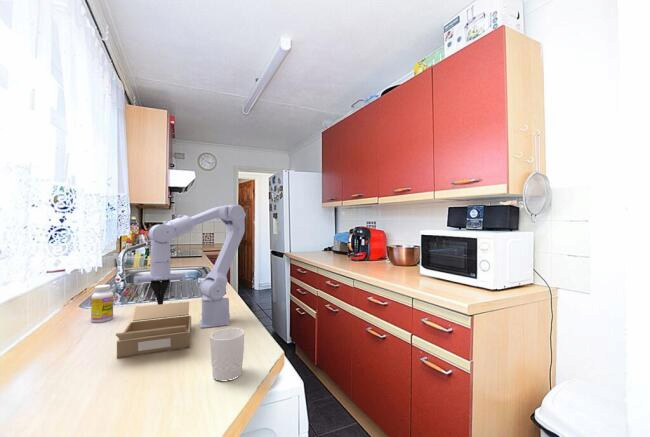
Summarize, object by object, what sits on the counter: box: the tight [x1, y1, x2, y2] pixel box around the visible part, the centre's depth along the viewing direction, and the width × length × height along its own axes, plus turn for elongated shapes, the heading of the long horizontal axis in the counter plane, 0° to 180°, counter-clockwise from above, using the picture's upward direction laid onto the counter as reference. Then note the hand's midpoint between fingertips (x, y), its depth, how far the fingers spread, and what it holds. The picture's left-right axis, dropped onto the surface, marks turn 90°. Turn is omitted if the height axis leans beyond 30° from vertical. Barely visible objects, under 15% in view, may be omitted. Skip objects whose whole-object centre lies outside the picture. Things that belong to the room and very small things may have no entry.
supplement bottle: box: [90, 284, 114, 324], centre depth 114 cm, size 7×7×13 cm
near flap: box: [115, 325, 187, 340], centre depth 84 cm, size 16×6×1 cm
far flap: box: [132, 301, 190, 322], centre depth 104 cm, size 16×6×1 cm
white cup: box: [209, 327, 245, 380], centre depth 74 cm, size 8×8×10 cm
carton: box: [116, 315, 192, 359], centre depth 94 cm, size 18×17×4 cm
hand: (160, 303), depth 98 cm, fingers closed
